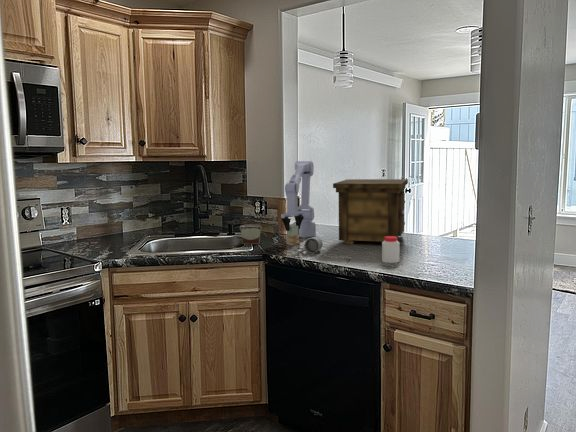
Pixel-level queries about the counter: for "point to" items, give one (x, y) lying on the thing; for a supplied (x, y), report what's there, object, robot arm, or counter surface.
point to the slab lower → (292, 242)
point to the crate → (370, 209)
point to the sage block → (293, 230)
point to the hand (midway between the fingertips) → (292, 230)
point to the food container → (250, 233)
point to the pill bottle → (390, 249)
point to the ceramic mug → (312, 245)
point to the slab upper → (292, 237)
